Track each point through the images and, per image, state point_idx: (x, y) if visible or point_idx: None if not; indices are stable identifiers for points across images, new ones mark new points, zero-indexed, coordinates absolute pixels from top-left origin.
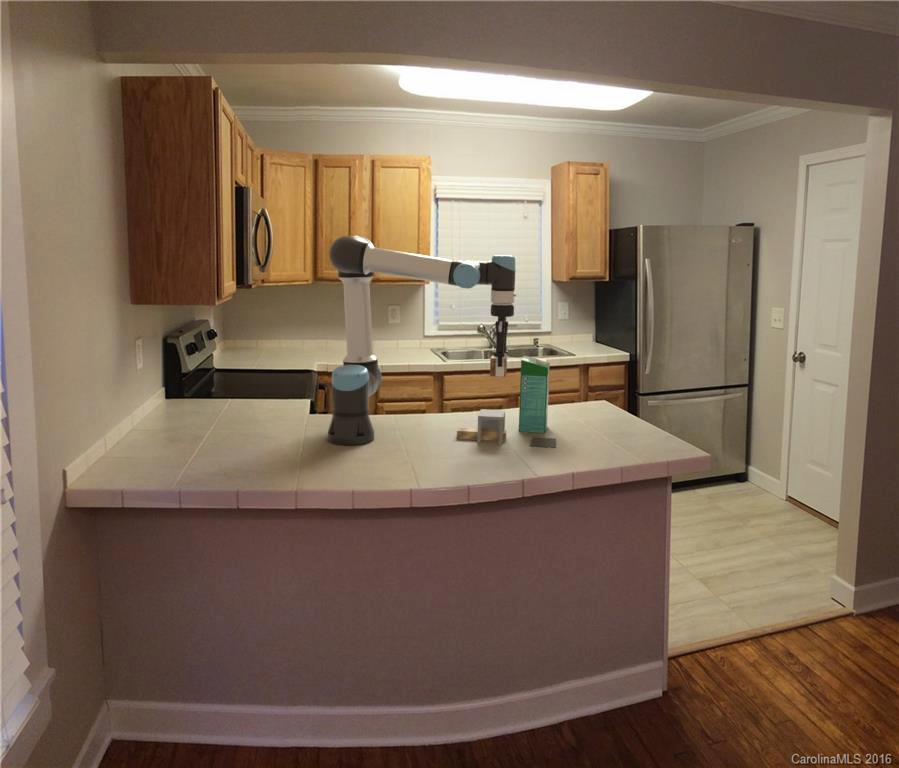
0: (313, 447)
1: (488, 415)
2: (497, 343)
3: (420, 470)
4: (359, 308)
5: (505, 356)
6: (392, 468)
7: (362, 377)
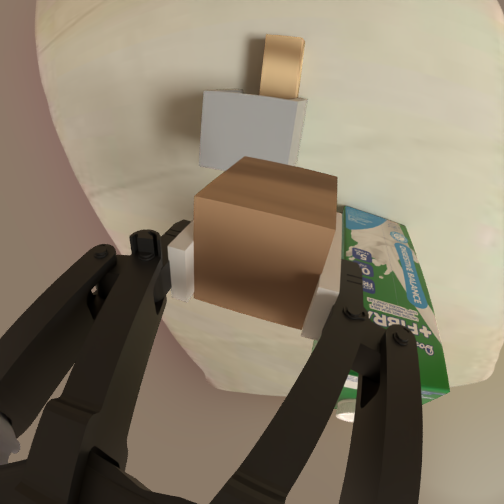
0: None
1: (212, 123)
2: (38, 311)
3: (79, 27)
4: None
5: (288, 319)
6: None
7: None
